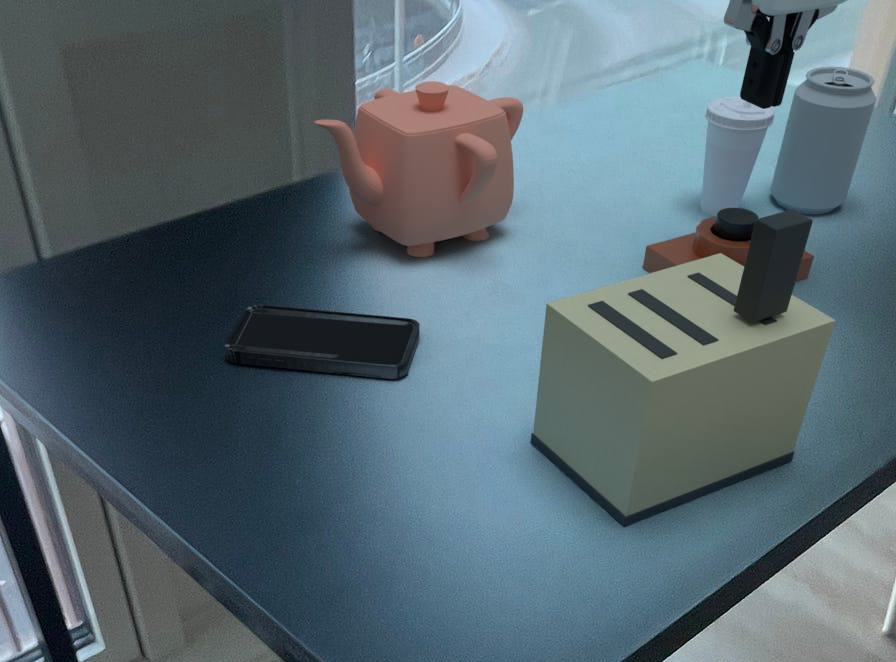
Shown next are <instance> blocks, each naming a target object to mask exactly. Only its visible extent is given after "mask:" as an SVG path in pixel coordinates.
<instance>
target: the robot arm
mask: <svg viewBox="0 0 896 662" xmlns="http://www.w3.org/2000/svg"><path fill="white" fill-rule="evenodd" d="M847 1H848V0H729V2H728V6H727V8H726V11H725V14H724V16H723V23H724V25H726V26H728V27H730V28H734V29H736V30H740V31H743V32H744V34H745V43H746V45H747V46H750V49H749V53H748V57H747V61H746V65H745V71H744V75H743V78H742V79H743V80H742V84H741V88H740V92H739V97H741V99H742V100H745V101H747V102H749V103H751V104H753V105H756V106H758V107H760V108H762V109H766V108H770V107H771V106H772V107H773V108H774V107H780V106H781V105H782V103H783V99H784V96H785V92H786V89H787V84H788V80H789V77H790V72H791V68H792V64H793V60H794V57H795V53H796V51H799V50H800V49H801V48H802V47H803V45H804V43H805V40H806V37H807V34H808V33H809V30H810V29H811V28H812V26H813V25H814V24H815V23H816V22H817V20H818V21H819V20H820V19H822V18H824V17H826V16H828V15H830V14H832V13H833V12H835V11H836V10H837V8H838V5H841V4H844V3H845V2H847Z"/></svg>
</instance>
